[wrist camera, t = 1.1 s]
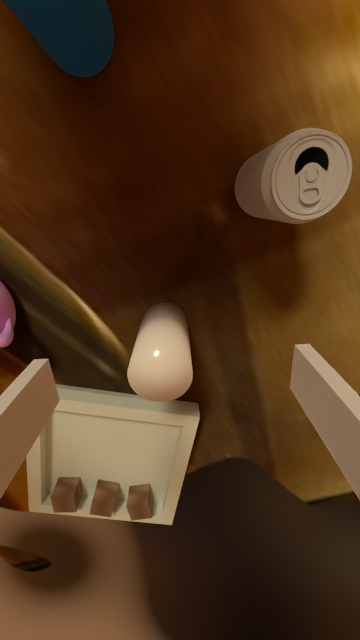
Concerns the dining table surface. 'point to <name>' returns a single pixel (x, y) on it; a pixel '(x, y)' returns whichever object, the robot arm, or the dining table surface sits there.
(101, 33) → the beverage can
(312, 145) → the beverage can
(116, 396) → the tray
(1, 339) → the teapot
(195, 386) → the dining table surface
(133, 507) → the walnut cube
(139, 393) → the white rounded tapered cylinder
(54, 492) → the walnut cube
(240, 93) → the dining table surface
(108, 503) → the walnut cube
